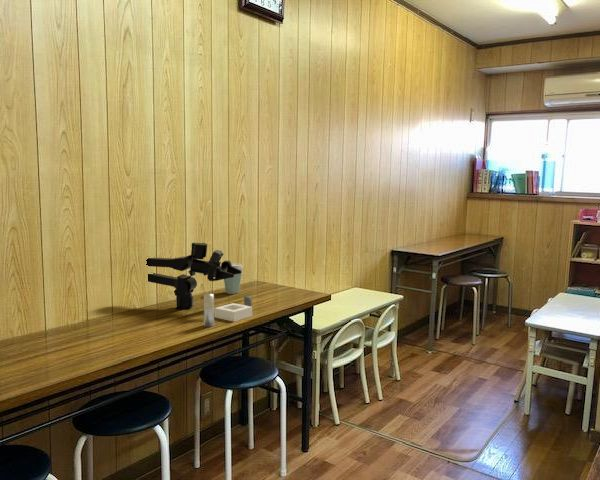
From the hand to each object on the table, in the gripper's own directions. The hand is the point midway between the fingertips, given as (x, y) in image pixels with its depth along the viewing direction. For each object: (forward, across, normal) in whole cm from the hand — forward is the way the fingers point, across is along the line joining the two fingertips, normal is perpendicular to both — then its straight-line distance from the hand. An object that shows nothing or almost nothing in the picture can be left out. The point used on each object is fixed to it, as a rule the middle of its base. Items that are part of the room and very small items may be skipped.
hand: (237, 274), depth 229 cm
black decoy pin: (+6, +2, +16) cm, 17 cm away
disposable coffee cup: (-13, +34, +19) cm, 41 cm away
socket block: (+4, -9, +16) cm, 19 cm away
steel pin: (-1, -24, +17) cm, 29 cm away
